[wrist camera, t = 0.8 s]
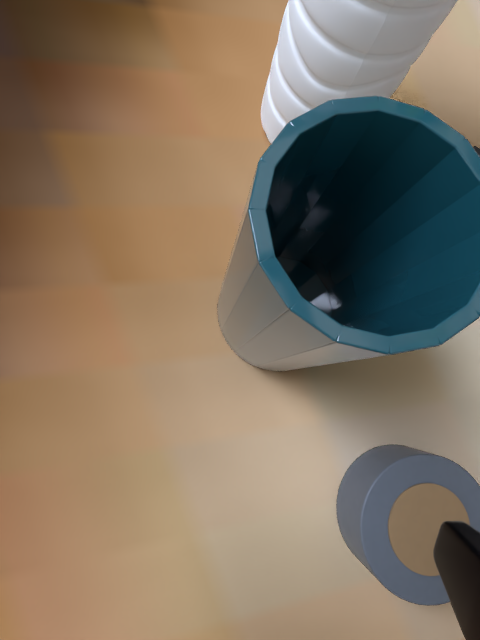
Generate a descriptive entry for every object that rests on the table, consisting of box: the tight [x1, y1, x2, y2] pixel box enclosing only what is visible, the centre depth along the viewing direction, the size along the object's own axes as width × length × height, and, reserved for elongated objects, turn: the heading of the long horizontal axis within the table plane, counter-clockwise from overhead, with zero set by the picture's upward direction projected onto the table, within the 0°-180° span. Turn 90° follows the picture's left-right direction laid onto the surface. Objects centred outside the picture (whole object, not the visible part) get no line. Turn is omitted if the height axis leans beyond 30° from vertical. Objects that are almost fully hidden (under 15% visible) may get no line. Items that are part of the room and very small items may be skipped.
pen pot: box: [217, 96, 480, 371], centre depth 16 cm, size 7×7×13 cm
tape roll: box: [336, 445, 480, 605], centre depth 20 cm, size 7×7×3 cm
